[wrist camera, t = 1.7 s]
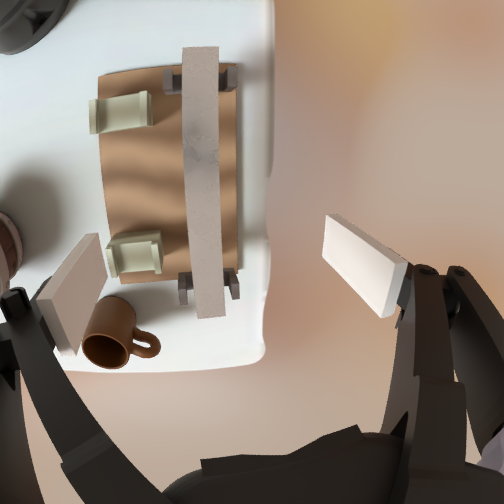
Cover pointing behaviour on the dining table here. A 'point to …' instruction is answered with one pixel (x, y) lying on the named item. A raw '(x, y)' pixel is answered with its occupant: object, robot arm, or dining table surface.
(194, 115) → the rail
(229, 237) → the rack
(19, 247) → the flowerpot
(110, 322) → the mug
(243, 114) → the dining table surface
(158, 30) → the dining table surface
